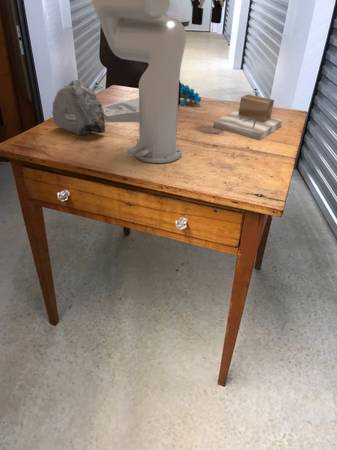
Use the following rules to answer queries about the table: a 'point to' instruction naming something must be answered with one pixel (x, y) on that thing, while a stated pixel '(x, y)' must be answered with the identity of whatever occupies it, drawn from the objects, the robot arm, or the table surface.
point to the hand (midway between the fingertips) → (206, 23)
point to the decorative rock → (78, 109)
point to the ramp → (122, 111)
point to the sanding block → (255, 108)
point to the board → (247, 125)
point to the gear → (189, 94)
